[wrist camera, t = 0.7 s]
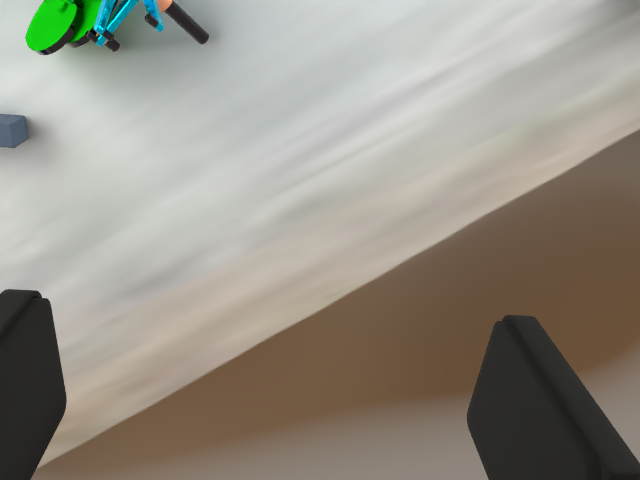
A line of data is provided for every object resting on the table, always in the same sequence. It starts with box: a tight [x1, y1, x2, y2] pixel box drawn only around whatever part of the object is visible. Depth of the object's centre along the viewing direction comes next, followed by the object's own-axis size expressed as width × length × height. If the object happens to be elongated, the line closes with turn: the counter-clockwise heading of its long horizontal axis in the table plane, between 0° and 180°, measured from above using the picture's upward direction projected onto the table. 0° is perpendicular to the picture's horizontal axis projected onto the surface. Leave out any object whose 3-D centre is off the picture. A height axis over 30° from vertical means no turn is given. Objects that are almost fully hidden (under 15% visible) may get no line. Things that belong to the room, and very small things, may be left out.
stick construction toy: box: [26, 0, 209, 55], centre depth 29 cm, size 12×7×8 cm
